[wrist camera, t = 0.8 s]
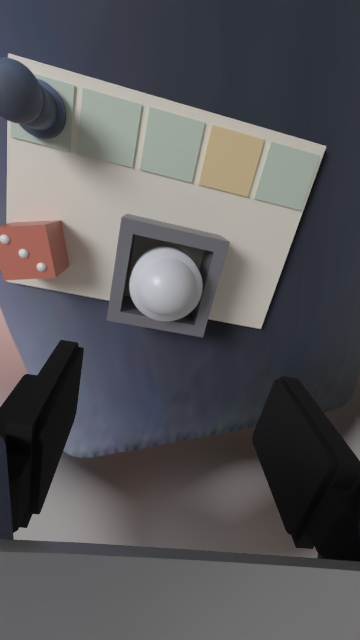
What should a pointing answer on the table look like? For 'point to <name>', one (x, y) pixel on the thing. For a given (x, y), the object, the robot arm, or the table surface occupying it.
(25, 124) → the pawn
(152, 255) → the dome
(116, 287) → the dome housing
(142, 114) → the board
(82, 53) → the table surface
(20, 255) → the die
